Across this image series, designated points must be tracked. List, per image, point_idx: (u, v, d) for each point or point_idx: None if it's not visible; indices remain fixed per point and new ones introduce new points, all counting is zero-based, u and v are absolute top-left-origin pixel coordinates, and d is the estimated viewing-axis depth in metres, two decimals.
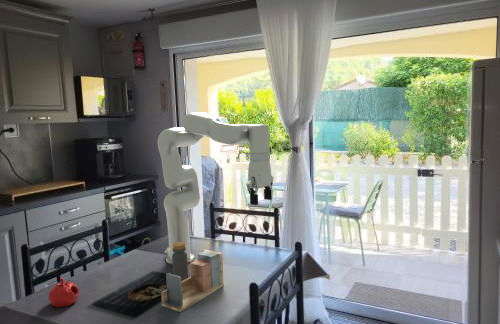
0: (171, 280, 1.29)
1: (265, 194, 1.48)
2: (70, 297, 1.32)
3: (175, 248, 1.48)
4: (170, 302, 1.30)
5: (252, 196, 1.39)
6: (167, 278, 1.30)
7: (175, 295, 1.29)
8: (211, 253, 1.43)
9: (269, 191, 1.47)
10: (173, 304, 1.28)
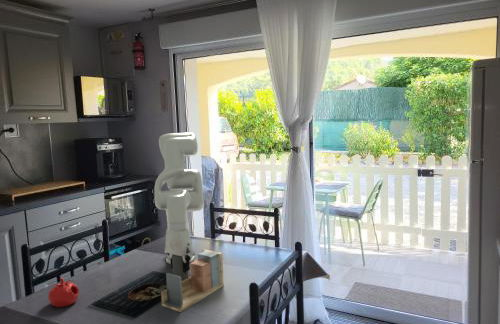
0: (171, 280, 1.29)
1: None
2: (70, 297, 1.32)
3: None
4: (170, 302, 1.30)
5: (187, 263, 1.48)
6: (167, 278, 1.30)
7: (175, 295, 1.29)
8: (211, 253, 1.43)
9: None
10: (173, 304, 1.28)
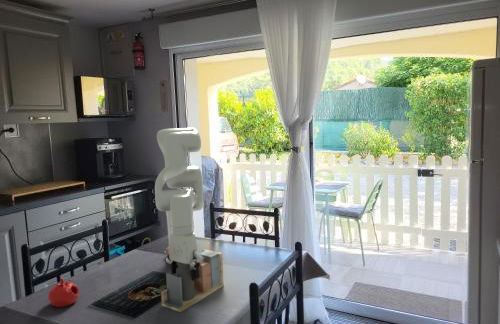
0: (171, 280, 1.29)
1: (174, 268, 1.36)
2: (70, 297, 1.32)
3: None
4: (170, 302, 1.30)
5: (197, 270, 1.30)
6: (167, 278, 1.30)
7: (175, 295, 1.29)
8: (211, 253, 1.43)
9: None
10: (173, 304, 1.28)
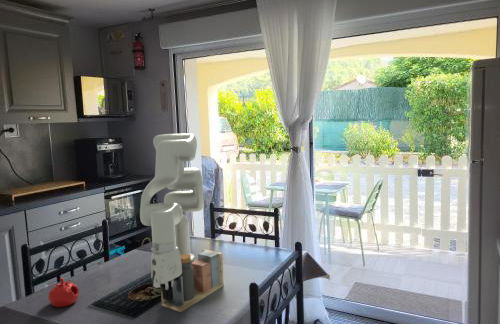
0: None
1: None
2: (70, 297, 1.32)
3: None
4: (171, 301, 1.30)
5: None
6: None
7: (176, 294, 1.29)
8: (211, 253, 1.43)
9: None
10: (174, 303, 1.29)
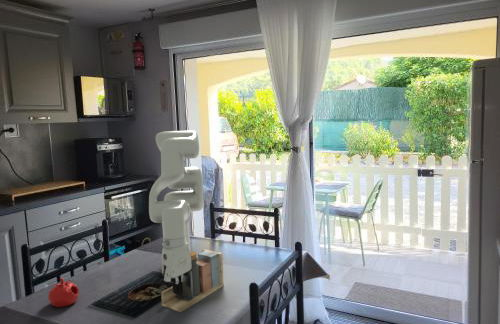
0: None
1: None
2: (70, 297, 1.32)
3: None
4: (181, 296, 1.34)
5: None
6: None
7: (186, 289, 1.33)
8: (211, 253, 1.43)
9: None
10: (184, 297, 1.33)
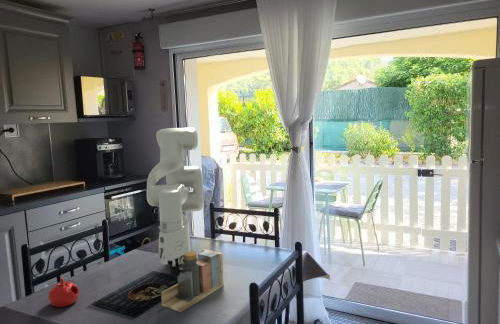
0: (182, 274, 1.33)
1: None
2: (70, 297, 1.32)
3: (186, 259, 1.34)
4: (181, 296, 1.34)
5: None
6: None
7: (186, 289, 1.33)
8: (211, 253, 1.43)
9: None
10: (184, 297, 1.33)
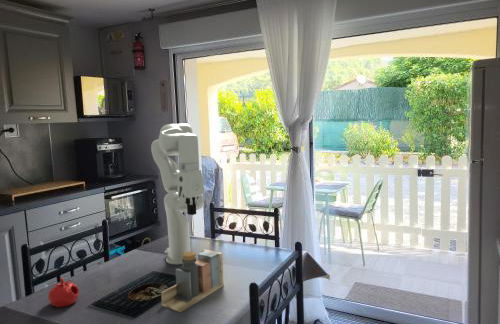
0: (180, 275, 1.33)
1: None
2: (70, 297, 1.32)
3: (185, 259, 1.34)
4: (179, 297, 1.33)
5: None
6: (176, 273, 1.34)
7: (184, 289, 1.32)
8: (211, 253, 1.43)
9: None
10: (182, 298, 1.32)
